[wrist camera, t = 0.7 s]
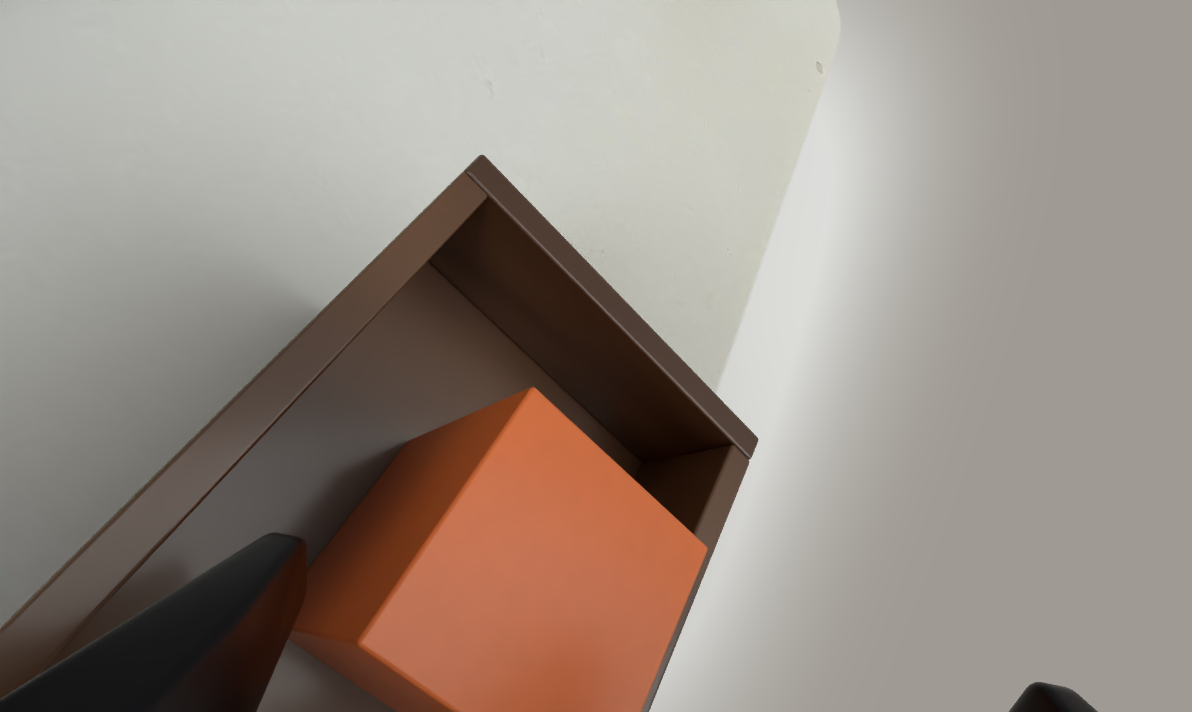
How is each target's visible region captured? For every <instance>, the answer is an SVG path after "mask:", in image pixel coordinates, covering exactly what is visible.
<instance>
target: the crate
mask: <svg viewBox="0 0 1192 712" xmlns="http://www.w3.org/2000/svg"><path fill="white" fill-rule="evenodd" d="M531 387H534V388H536V389H537V390H538V391H539V392H540V393H541V394H542V395H543V396H545V397H546V398H547V399H548V400H549V401H550V402H551V403H552V404H553V405H554V406H555V407H556V408H558V409H559V410H560V411H561V412H562V413H563V414H564V415H565V416H566V417H567V418H568V419H569V420H571V421H572V422H573V423H574V424H575V425H576V426H577V427H578V428H579V429H580V430H581V431H582V432H583V433H585V434H586V435H587V436H588V437H589V438H590V439H591V440H592V441H593V442H594V443H595V444H596V445H598V446H599V447H600V448H601V449H602V450H603V451H604V452H605V453H606V454H607V455H608V456H609V457H611V458H612V459H613V460H614V461H615V462H616V463H617V464H618V465H619V466H620V467H621V468H622V469H623V470H625V471H626V472H627V473H628V474H629V475H630V476H631V477H632V478H633V479H634V480H635V481H636V482H638V483H639V484H640V485H641V486H642V487H643V488H644V489H645V490H646V491H647V492H648V493H649V494H651V495H652V496H653V497H654V498H655V499H656V500H657V501H658V502H659V503H660V504H661V505H662V506H663V507H665V508H666V509H667V510H668V511H669V512H670V513H671V514H672V515H673V516H674V517H675V518H676V519H678V520H679V521H680V522H681V523H682V524H683V525H684V526H685V527H686V528H687V529H688V530H689V531H690V532H692V533H693V534H694V535H695V536H696V537H697V538H698V539H699V540H700V541H701V542H702V543H703V544H705V545H706V546H707V548H708V550H707V553H706V555H705V558H704V560H703V563H702V565H701V568H700V570H699V572H698V575H697V577H696V580H695V582H694V585H693V587H692V589H691V592H690V594H689V597H688V599H687V602H686V604H685V607H684V609H683V611H682V614H681V616H680V619H679V621H678V624H677V626H676V629H675V631H674V633H673V636H672V638H671V641H670V643H669V646H668V648H667V650H666V653H665V655H664V658H663V660H662V663H661V665H660V668H659V670H658V672H657V675H656V677H655V680H654V682H653V685H652V687H651V690H650V692H649V694H648V697H647V699H646V702H645V704H644V707H643V709H642V711H641V712H649V710H650V708H651V705H652V703H653V700H654V698H655V695H656V693H657V690H658V688H659V685H660V683H661V680H662V678H663V675H664V673H665V670H666V668H667V665H668V663H669V661H670V658H671V656H672V653H673V651H674V648H675V646H676V643H677V641H678V638H679V636H680V633H681V631H682V628H683V626H684V623H685V621H686V618H687V616H688V613H689V611H690V609H691V606H692V604H693V601H694V598H695V596H696V594H697V591H698V589H699V586H700V584H701V581H702V578H703V576H704V574H705V571H706V569H707V566H708V564H709V561H710V558H711V556H712V554H713V552H714V549H715V547H716V544H717V542H718V539H719V537H720V534H721V532H722V529H723V527H724V524H725V522H726V519H727V517H728V514H729V512H730V509H731V507H732V504H733V502H734V500H735V497H736V494H737V492H738V489H739V487H740V484H741V482H742V480H743V477H744V475H745V472H746V470H747V467H748V465H749V459H751V457H752V455H753V452H754V450H755V447H756V445H757V442H758V438H757V437H756V436H755V435H754V433H753V432H752V431H751V430H750V429H749V428H748V427H747V426H746V425H745V424H744V423H743V422H742V421H741V420H740V419H739V418H738V417H737V416H736V415H735V414H734V413H733V412H732V411H731V410H730V409H729V408H728V407H727V406H726V405H725V404H724V403H723V401H722V400H721V399H720V398H719V397H718V396H717V395H716V394H715V393H714V392H713V391H712V390H711V389H710V388H709V387H708V386H707V385H706V384H705V383H704V382H703V381H702V380H701V379H700V378H699V377H698V376H697V375H696V374H695V373H694V372H693V370H692V369H691V368H690V367H689V366H688V365H687V364H686V363H685V362H684V361H683V360H682V359H681V358H680V357H679V356H678V355H677V354H676V353H675V352H674V351H673V350H672V349H671V348H670V347H669V346H668V345H667V344H666V343H665V342H664V341H663V339H662V338H661V337H660V336H659V335H658V334H657V333H656V332H655V331H654V330H653V329H652V328H651V327H650V326H649V325H648V324H647V323H646V322H645V321H644V320H643V319H642V318H641V317H640V316H639V315H638V314H637V313H636V312H635V311H634V310H633V308H632V307H631V306H630V305H629V304H628V303H627V302H626V301H625V300H624V299H623V298H622V297H621V296H620V295H619V294H618V293H617V292H616V291H615V290H614V289H613V288H612V287H611V286H610V285H609V284H608V283H607V282H606V281H605V280H604V279H603V277H602V276H601V275H600V274H599V273H598V272H597V271H596V270H595V269H594V268H593V267H592V266H591V265H590V264H589V263H588V262H587V261H586V260H585V259H584V258H583V257H582V256H581V255H580V254H579V253H578V252H577V251H576V250H575V249H574V248H573V246H572V245H571V244H570V243H569V242H568V241H567V240H566V239H565V238H564V237H563V236H562V235H561V234H560V233H559V232H558V231H557V230H556V229H555V228H554V227H553V226H552V225H551V224H550V223H549V222H548V221H547V220H546V219H545V218H544V217H543V216H542V214H541V213H540V212H539V211H538V210H537V209H536V208H535V207H534V206H533V205H532V204H531V203H530V202H529V201H528V200H527V199H526V198H525V197H524V196H523V195H522V194H521V193H520V192H519V191H518V190H517V189H516V188H515V187H514V186H513V185H512V183H511V182H510V181H509V180H508V179H507V178H506V177H505V176H504V175H503V174H502V173H501V172H500V171H499V170H498V169H497V168H496V167H495V166H494V165H493V164H492V163H491V162H490V161H489V160H488V159H487V158H486V157H485V156H484V155H480V156H478V157H477V158H476V159H475V160H474V161H473V162H472V163H471V164H470V165H469V166H468V167H467V168H466V169H465V170H464V171H463V172H462V173H461V174H460V175H459V176H458V177H457V178H456V179H455V180H454V181H453V182H452V183H451V184H450V185H449V186H448V187H447V188H446V189H445V190H444V191H443V192H442V193H441V194H440V195H439V196H438V197H437V198H436V199H435V200H434V201H433V202H432V203H431V204H430V205H428V206H427V207H426V208H425V209H424V210H423V211H422V212H421V213H420V214H419V215H418V216H417V217H416V218H415V219H414V220H413V221H412V222H411V223H410V224H409V225H408V226H407V227H406V228H405V229H404V230H403V231H402V232H401V233H400V234H399V235H398V236H397V237H396V238H395V239H394V240H393V241H392V242H391V243H390V244H389V245H388V246H387V247H386V248H385V249H384V250H383V251H382V252H381V253H380V254H379V255H378V256H377V257H376V258H375V259H374V260H373V261H372V262H371V263H370V264H369V265H368V266H367V267H366V268H365V269H364V270H363V271H362V272H361V273H360V274H359V275H358V276H356V277H355V278H354V279H353V280H352V281H351V282H350V283H349V284H348V285H347V286H346V287H345V288H344V289H343V290H342V291H341V292H340V293H339V294H338V295H337V296H336V297H335V298H334V299H333V300H332V301H331V302H330V303H329V304H328V305H327V306H326V307H325V308H324V309H323V310H322V311H321V312H320V313H319V314H318V315H317V316H316V317H315V318H314V319H313V320H312V321H311V322H310V323H309V324H308V325H307V326H306V327H305V328H304V329H303V330H302V331H301V332H300V333H299V334H298V335H297V336H296V337H295V338H294V339H293V340H292V341H291V342H290V343H289V344H288V345H287V346H286V347H284V348H283V349H282V350H281V351H280V352H279V353H278V354H277V355H276V356H275V357H274V358H273V359H272V360H271V361H270V362H269V363H268V364H267V365H266V366H265V367H264V368H263V369H262V370H261V371H260V372H259V373H258V374H257V375H256V376H255V377H254V378H253V379H252V380H251V381H250V382H249V383H248V384H247V385H246V386H245V387H244V388H243V389H242V390H241V391H240V392H239V393H238V394H237V395H236V396H235V397H234V398H233V399H232V400H231V401H230V402H229V403H228V404H227V405H226V406H225V407H224V408H223V409H222V410H221V411H220V412H219V413H218V414H217V415H216V416H215V417H213V418H212V419H211V420H210V421H209V422H208V423H207V424H206V425H205V426H204V427H203V428H202V429H201V430H200V431H199V432H198V433H197V434H196V435H195V436H194V437H193V438H192V439H191V440H190V441H189V442H188V443H187V444H186V445H185V446H184V447H183V448H182V449H181V450H180V451H179V452H178V453H177V454H176V455H175V456H174V457H173V458H172V459H171V460H170V461H169V462H168V463H167V464H166V465H165V466H164V467H163V468H162V469H161V470H160V471H159V472H158V473H157V474H156V475H155V476H154V477H153V478H152V479H151V480H150V481H149V482H148V483H147V484H146V485H145V486H144V487H143V488H141V489H140V490H139V491H138V492H137V493H136V494H135V495H134V496H133V497H132V498H131V499H130V500H129V501H128V502H127V503H126V504H125V505H124V506H123V507H122V508H121V509H120V510H119V511H118V512H117V513H116V514H115V515H114V516H113V517H112V518H111V519H110V520H109V521H108V522H107V523H106V524H105V525H104V526H103V527H102V528H101V529H100V530H99V531H98V532H97V533H96V534H95V535H94V536H93V537H92V538H91V539H90V540H89V541H88V542H87V543H86V544H85V545H84V546H83V547H82V548H81V549H80V550H79V551H78V552H77V553H76V554H75V555H74V556H73V557H72V558H71V559H69V560H68V561H67V562H66V563H65V564H64V565H63V566H62V567H61V568H60V569H59V570H58V571H57V572H56V573H55V574H54V575H53V576H52V577H51V578H50V579H49V580H48V581H47V582H46V583H45V584H44V585H43V586H42V587H41V588H40V589H39V590H38V591H37V592H36V593H35V594H34V595H33V596H32V597H31V598H30V599H29V600H28V601H27V602H26V603H25V604H24V605H23V606H22V607H21V608H20V609H19V610H18V611H17V612H16V613H15V614H14V615H13V616H12V617H11V618H10V619H9V620H8V621H7V622H6V623H5V624H4V625H3V626H2V627H1V628H0V699H1V698H3V697H4V696H6V695H8V694H9V693H11V692H12V691H14V690H16V689H17V688H19V687H20V686H22V685H24V684H25V683H27V682H28V681H30V680H32V679H33V678H35V677H36V676H38V675H40V674H41V673H43V672H45V671H46V670H48V669H49V668H51V667H53V666H54V665H56V664H57V663H59V662H61V661H62V660H64V659H65V658H67V657H69V656H70V655H72V654H74V653H75V652H77V651H78V650H80V649H82V648H83V647H85V646H86V645H88V644H90V643H91V642H93V641H94V640H96V639H98V638H99V637H101V636H103V635H104V634H106V633H107V632H109V631H111V630H112V629H114V628H115V627H117V626H119V625H120V624H122V623H123V622H125V621H127V620H128V619H130V618H132V617H133V616H135V615H136V614H138V613H140V612H141V611H143V610H144V609H146V608H148V607H149V606H151V605H152V604H154V603H156V602H157V601H159V600H161V599H162V598H164V597H165V596H167V595H169V594H170V593H172V592H173V591H175V590H177V589H178V588H180V587H181V586H183V585H185V584H186V583H188V582H190V581H191V580H193V579H194V578H196V577H198V576H199V575H201V574H202V573H204V572H206V571H207V570H209V569H210V568H212V567H214V566H215V565H217V564H219V563H220V562H222V561H223V560H225V559H227V558H228V557H230V556H231V555H233V554H235V553H236V552H238V551H239V550H241V549H243V548H244V547H246V546H248V545H249V544H251V543H252V542H254V541H256V540H257V539H259V538H260V537H262V536H264V535H266V534H268V533H273V532H276V533H281V534H286V535H291V536H297V537H300V538H302V539H304V540H305V542H306V546H307V570H308V569H309V567H310V566H311V565H312V563H313V562H314V561H315V560H316V558H317V557H318V556H319V554H320V553H321V552H322V551H323V549H324V548H325V547H326V545H327V544H328V543H329V542H330V540H331V539H332V538H333V537H334V535H335V534H336V533H337V531H338V530H339V529H340V528H341V526H342V525H343V524H344V522H345V521H346V520H347V519H348V517H349V516H350V515H351V513H352V512H353V511H354V510H355V508H356V507H357V506H358V504H359V503H360V502H361V501H362V499H363V498H364V497H365V495H366V494H367V493H368V492H369V490H370V489H371V488H372V487H373V485H374V484H375V483H376V481H377V480H378V479H379V478H380V476H381V475H382V474H383V472H384V471H385V470H386V469H387V467H388V466H389V465H390V463H391V462H392V461H393V460H394V458H395V457H396V456H397V454H398V453H399V452H400V451H401V449H402V448H403V447H404V445H405V444H406V443H407V442H408V441H409V440H411V439H413V438H416V437H418V436H420V435H422V434H425V433H427V432H429V431H432V430H434V429H436V428H439V427H441V426H443V425H445V424H448V423H450V422H452V421H455V420H457V419H459V418H462V417H464V416H466V415H468V414H471V413H473V412H475V411H478V410H480V409H482V408H485V407H487V406H489V405H491V404H494V403H496V402H498V401H501V400H503V399H505V398H508V397H510V396H512V395H514V394H517V393H519V392H521V391H524V390H526V389H528V388H531ZM257 712H396V711H394V710H393V709H391V708H390V707H388V706H387V705H385V704H384V703H382V702H381V701H379V700H378V699H376V698H375V697H373V696H372V695H370V694H369V693H367V692H366V691H365V690H363V689H362V688H360V687H359V686H357V685H356V684H354V683H353V682H351V681H350V680H348V679H347V678H345V677H344V676H342V675H341V674H339V673H338V672H336V671H335V670H333V669H332V668H330V667H329V666H327V665H326V664H324V663H323V662H321V661H320V660H319V659H317V658H316V657H314V656H313V655H311V654H310V653H308V652H307V651H305V650H304V649H302V648H301V647H299V646H298V645H296V644H295V643H293V642H292V641H290V640H289V639H288V640H287V642H286V645H285V647H284V649H283V651H282V654H281V656H280V658H279V661H278V663H277V665H276V668H275V670H274V672H273V675H272V677H271V679H270V682H269V684H268V686H267V688H266V691H265V693H264V695H263V698H262V700H261V702H260V705H259V707H258V709H257Z"/></svg>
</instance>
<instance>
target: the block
mask: <svg viewBox="0 0 1192 712" xmlns="http://www.w3.org/2000/svg"><path fill="white" fill-rule="evenodd" d="M707 550H708V548H707V546H706V545H705V544H703V543H702V542H701V541H700V540H699V539H698V538H697V537H696V536H695V535H694V534H693V533H692V532H690V531H689V530H688V529H687V528H686V527H685V526H684V525H683V524H682V523H681V522H680V521H679V520H678V519H676V518H675V517H674V516H673V515H672V514H671V513H670V512H669V511H668V510H667V509H666V508H665V507H663V506H662V505H661V504H660V503H659V502H658V501H657V500H656V499H655V498H654V497H653V496H652V495H651V494H649V493H648V492H647V491H646V490H645V489H644V488H643V487H642V486H641V485H640V484H639V483H638V482H636V481H635V480H634V479H633V478H632V477H631V476H630V475H629V474H628V473H627V472H626V471H625V470H623V469H622V468H621V467H620V466H619V465H618V464H617V463H616V462H615V461H614V460H613V459H612V458H611V457H609V456H608V455H607V454H606V453H605V452H604V451H603V450H602V449H601V448H600V447H599V446H598V445H596V444H595V443H594V442H593V441H592V440H591V439H590V438H589V437H588V436H587V435H586V434H585V433H583V432H582V431H581V430H580V429H579V428H578V427H577V426H576V425H575V424H574V423H573V422H572V421H571V420H569V419H568V418H567V417H566V416H565V415H564V414H563V413H562V412H561V411H560V410H559V409H558V408H556V407H555V406H554V405H553V404H552V403H551V402H550V401H549V400H548V399H547V398H546V397H545V396H543V395H542V394H541V393H540V392H539V391H538V390H537V389H536V388H534V387H531V388H528V389H526V390H524V391H521V392H519V393H517V394H514V395H512V396H510V397H508V398H505V399H503V400H501V401H498V402H496V403H494V404H491V405H489V406H487V407H485V408H482V409H480V410H478V411H475V412H473V413H471V414H468V415H466V416H464V417H462V418H459V419H457V420H455V421H452V422H450V423H448V424H445V425H443V426H441V427H439V428H436V429H434V430H432V431H429V432H427V433H425V434H422V435H420V436H418V437H416V438H413V439H411V440H409V441H408V442H407V443H406V444H405V445H404V447H403V448H402V449H401V451H400V452H399V453H398V454H397V456H396V457H395V458H394V460H393V461H392V462H391V463H390V465H389V466H388V467H387V469H386V470H385V471H384V472H383V474H382V475H381V476H380V478H379V479H378V480H377V481H376V483H375V484H374V485H373V487H372V488H371V489H370V490H369V492H368V493H367V494H366V495H365V497H364V498H363V499H362V501H361V502H360V503H359V504H358V506H357V507H356V508H355V510H354V511H353V512H352V513H351V515H350V516H349V517H348V519H347V520H346V521H345V522H344V524H343V525H342V526H341V528H340V529H339V530H338V531H337V533H336V534H335V535H334V537H333V538H332V539H331V540H330V542H329V543H328V544H327V545H326V547H325V548H324V549H323V551H322V552H321V553H320V554H319V556H318V557H317V558H316V560H315V561H314V562H313V563H312V565H311V566H310V567H309V569H308V570H307V589H306V595H305V599H304V602H303V605H302V607H301V610H300V612H299V614H298V617H297V619H296V621H295V624H294V626H293V628H292V631H291V633H290V635H289V638H288V639H289V640H290V641H292V642H293V643H295V644H296V645H298V646H299V647H301V648H302V649H304V650H305V651H307V652H308V653H310V654H311V655H313V656H314V657H316V658H317V659H319V660H320V661H321V662H323V663H324V664H326V665H327V666H329V667H330V668H332V669H333V670H335V671H336V672H338V673H339V674H341V675H342V676H344V677H345V678H347V679H348V680H350V681H351V682H353V683H354V684H356V685H357V686H359V687H360V688H362V689H363V690H365V691H366V692H367V693H369V694H370V695H372V696H373V697H375V698H376V699H378V700H379V701H381V702H382V703H384V704H385V705H387V706H388V707H390V708H391V709H393V710H394V711H396V712H641V711H642V709H643V707H644V704H645V702H646V699H647V697H648V694H649V692H650V690H651V687H652V685H653V682H654V680H655V677H656V675H657V672H658V670H659V668H660V665H661V663H662V660H663V658H664V655H665V653H666V650H667V648H668V646H669V643H670V641H671V638H672V636H673V633H674V631H675V629H676V626H677V624H678V621H679V619H680V616H681V614H682V611H683V609H684V607H685V604H686V602H687V599H688V597H689V594H690V592H691V589H692V587H693V585H694V582H695V580H696V577H697V575H698V572H699V570H700V568H701V565H702V563H703V560H704V558H705V555H706V553H707Z"/></svg>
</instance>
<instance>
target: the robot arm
mask: <svg viewBox="0 0 1192 712" xmlns="http://www.w3.org/2000/svg"><path fill="white" fill-rule="evenodd" d="M306 589H307V546H306V542H305V540H304V539H302V538H300V537H297V536H291V535H286V534H281V533H276V532H273V533H268V534H266V535H264V536H262V537H260V538H259V539H257V540H256V541H254V542H252V543H251V544H249V545H248V546H246V547H244V548H243V549H241V550H239V551H238V552H236V553H235V554H233V555H231V556H230V557H228V558H227V559H225V560H223V561H222V562H220V563H219V564H217V565H215V566H214V567H212V568H210V569H209V570H207V571H206V572H204V573H202V574H201V575H199V576H198V577H196V578H194V579H193V580H191V581H190V582H188V583H186V584H185V585H183V586H181V587H180V588H178V589H177V590H175V591H173V592H172V593H170V594H169V595H167V596H165V597H164V598H162V599H161V600H159V601H157V602H156V603H154V604H152V605H151V606H149V607H148V608H146V609H144V610H143V611H141V612H140V613H138V614H136V615H135V616H133V617H132V618H130V619H128V620H127V621H125V622H123V623H122V624H120V625H119V626H117V627H115V628H114V629H112V630H111V631H109V632H107V633H106V634H104V635H103V636H101V637H99V638H98V639H96V640H94V641H93V642H91V643H90V644H88V645H86V646H85V647H83V648H82V649H80V650H78V651H77V652H75V653H74V654H72V655H70V656H69V657H67V658H65V659H64V660H62V661H61V662H59V663H57V664H56V665H54V666H53V667H51V668H49V669H48V670H46V671H45V672H43V673H41V674H40V675H38V676H36V677H35V678H33V679H32V680H30V681H28V682H27V683H25V684H24V685H22V686H20V687H19V688H17V689H16V690H14V691H12V692H11V693H9V694H8V695H6V696H4V697H3V698H1V699H0V712H257V709H258V707H259V705H260V702H261V700H262V698H263V695H264V693H265V691H266V688H267V686H268V684H269V682H270V679H271V677H272V675H273V672H274V670H275V668H276V665H277V663H278V661H279V658H280V656H281V654H282V651H283V649H284V647H285V645H286V642H287V640H288V638H289V635H290V633H291V631H292V628H293V626H294V624H295V621H296V619H297V617H298V614H299V612H300V610H301V607H302V605H303V602H304V599H305V595H306ZM1009 712H1097V711H1096V710H1095V709H1094V708H1093V707H1092V706H1091V705H1089V704H1088V703H1087V702H1086V701H1085V700H1084V699H1083V698H1082V697H1080V696H1079V695H1078V694H1077V693H1076V692H1074V691H1073V690H1071V689H1069V688H1066V687H1062V686H1057V685H1052V684H1047V683H1042V682H1035V683H1033V684H1031V685H1029V686H1028V687H1027V688H1026V690H1025V691H1024V692H1023V694H1022V695H1021V696H1020V698H1019V699H1018V701H1017V702H1016V703H1015V704H1014V706H1013V707H1012V708H1011V710H1010V711H1009Z"/></svg>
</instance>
